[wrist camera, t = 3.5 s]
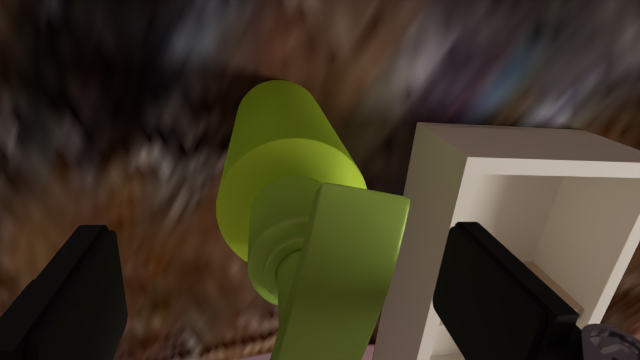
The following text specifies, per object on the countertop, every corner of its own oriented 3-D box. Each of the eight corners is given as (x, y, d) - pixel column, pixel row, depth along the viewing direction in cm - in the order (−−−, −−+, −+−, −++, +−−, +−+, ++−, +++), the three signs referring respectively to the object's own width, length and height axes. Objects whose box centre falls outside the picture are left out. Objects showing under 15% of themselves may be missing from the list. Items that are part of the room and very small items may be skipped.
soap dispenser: (334, 75, 26) (512, 225, 8) (309, 168, 28) (399, 450, 10) (247, 53, 24) (209, 172, 6) (229, 153, 27) (165, 447, 9)
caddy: (417, 122, 28) (467, 156, 21) (582, 129, 30) (676, 163, 23) (372, 360, 37) (397, 437, 30) (501, 352, 40) (551, 422, 33)
